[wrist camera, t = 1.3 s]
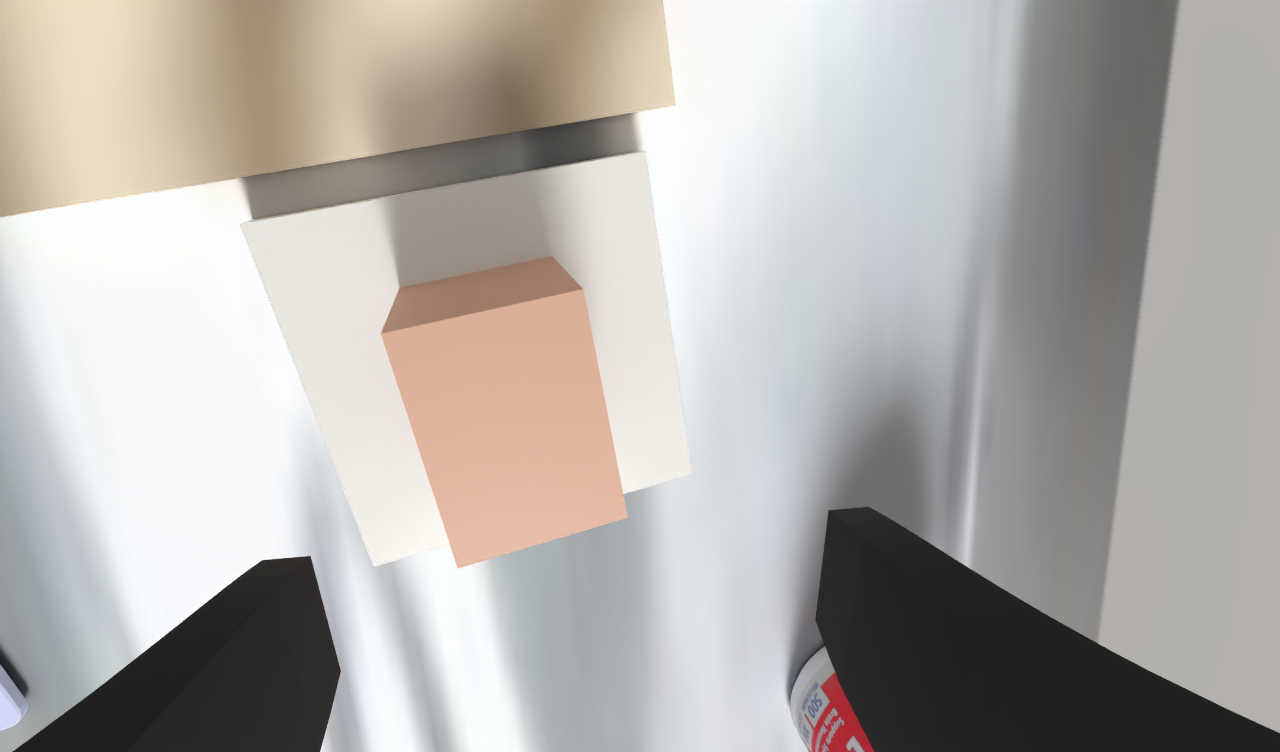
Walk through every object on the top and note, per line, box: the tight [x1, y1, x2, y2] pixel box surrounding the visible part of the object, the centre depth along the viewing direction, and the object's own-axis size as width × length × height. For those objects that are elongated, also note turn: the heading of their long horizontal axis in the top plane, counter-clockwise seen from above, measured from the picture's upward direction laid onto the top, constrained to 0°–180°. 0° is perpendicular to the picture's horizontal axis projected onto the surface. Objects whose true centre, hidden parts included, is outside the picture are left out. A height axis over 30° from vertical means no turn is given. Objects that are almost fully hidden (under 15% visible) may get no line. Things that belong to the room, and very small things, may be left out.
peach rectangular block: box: [381, 256, 628, 568], centre depth 15 cm, size 4×6×4 cm
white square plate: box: [240, 151, 692, 567], centre depth 18 cm, size 10×10×1 cm
